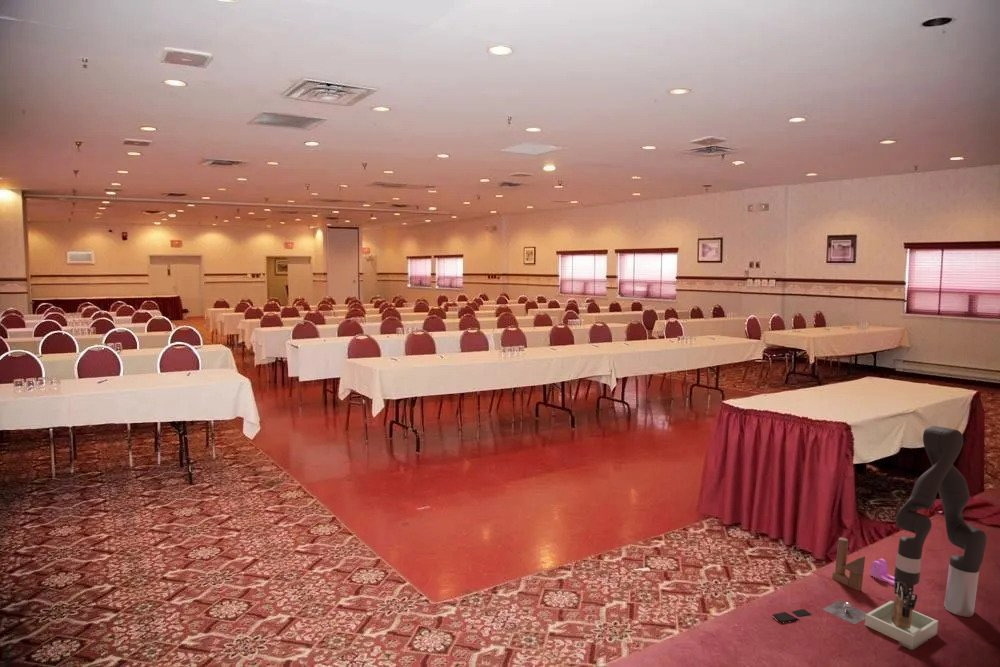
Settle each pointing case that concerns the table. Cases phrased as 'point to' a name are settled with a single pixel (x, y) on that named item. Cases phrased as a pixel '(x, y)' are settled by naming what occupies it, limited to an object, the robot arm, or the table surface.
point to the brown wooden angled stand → (848, 567)
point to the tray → (908, 638)
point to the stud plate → (846, 612)
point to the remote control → (786, 617)
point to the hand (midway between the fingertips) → (902, 612)
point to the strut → (900, 614)
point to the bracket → (881, 571)
